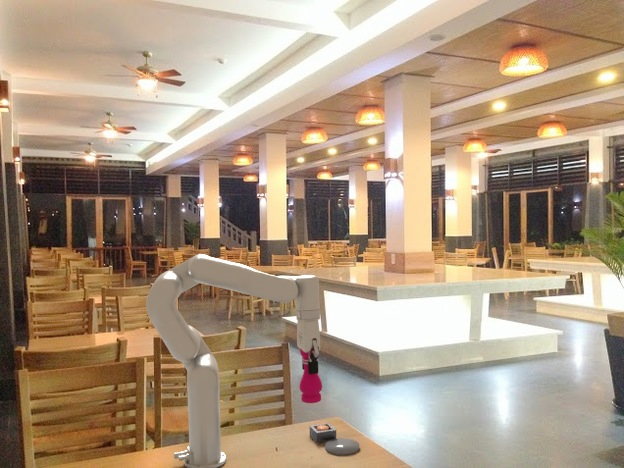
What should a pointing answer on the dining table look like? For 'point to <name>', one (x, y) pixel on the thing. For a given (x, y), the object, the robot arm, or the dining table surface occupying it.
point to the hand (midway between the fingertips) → (310, 370)
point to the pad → (342, 446)
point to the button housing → (322, 433)
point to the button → (322, 428)
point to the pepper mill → (309, 383)
